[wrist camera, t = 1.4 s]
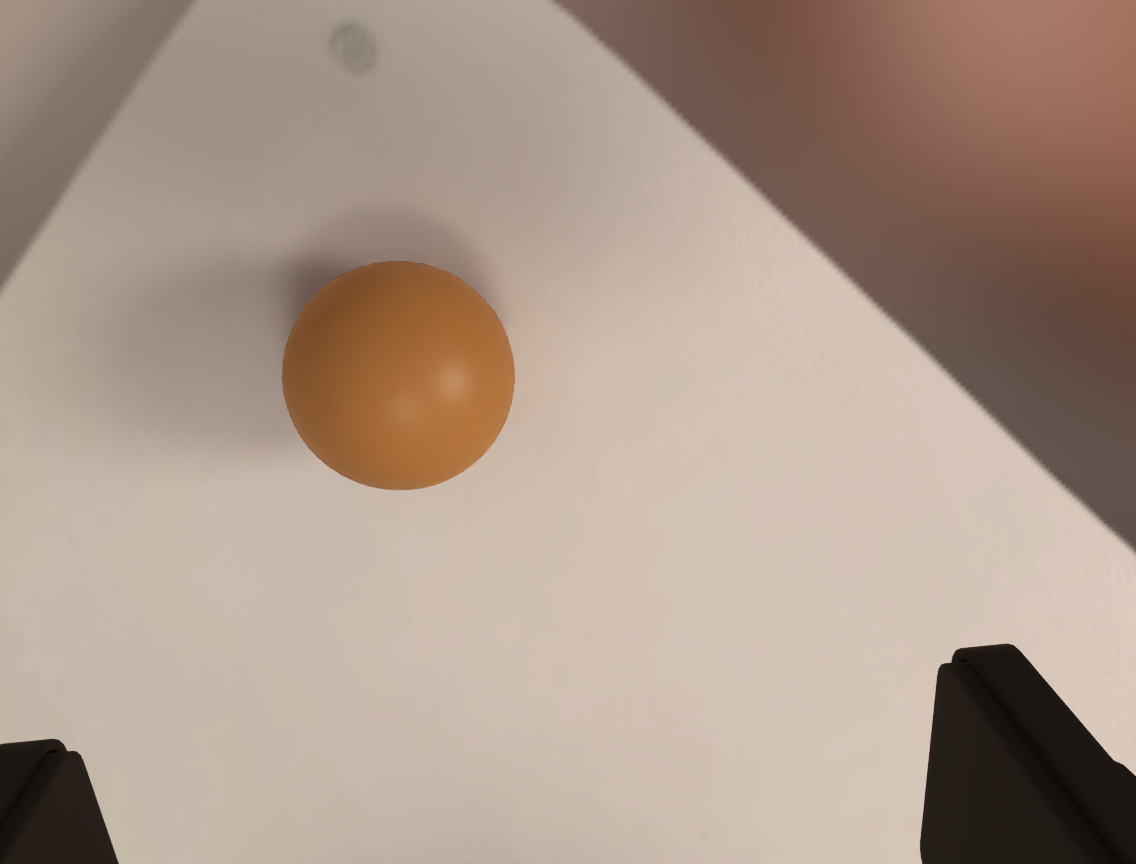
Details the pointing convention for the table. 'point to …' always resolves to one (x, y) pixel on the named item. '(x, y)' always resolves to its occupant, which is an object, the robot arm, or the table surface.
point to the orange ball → (398, 375)
